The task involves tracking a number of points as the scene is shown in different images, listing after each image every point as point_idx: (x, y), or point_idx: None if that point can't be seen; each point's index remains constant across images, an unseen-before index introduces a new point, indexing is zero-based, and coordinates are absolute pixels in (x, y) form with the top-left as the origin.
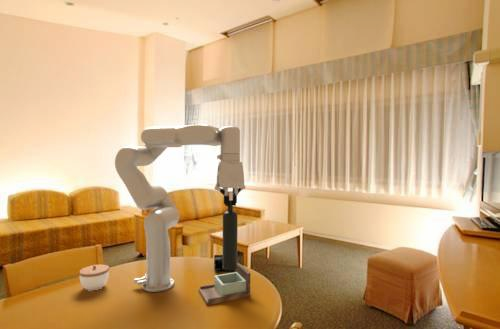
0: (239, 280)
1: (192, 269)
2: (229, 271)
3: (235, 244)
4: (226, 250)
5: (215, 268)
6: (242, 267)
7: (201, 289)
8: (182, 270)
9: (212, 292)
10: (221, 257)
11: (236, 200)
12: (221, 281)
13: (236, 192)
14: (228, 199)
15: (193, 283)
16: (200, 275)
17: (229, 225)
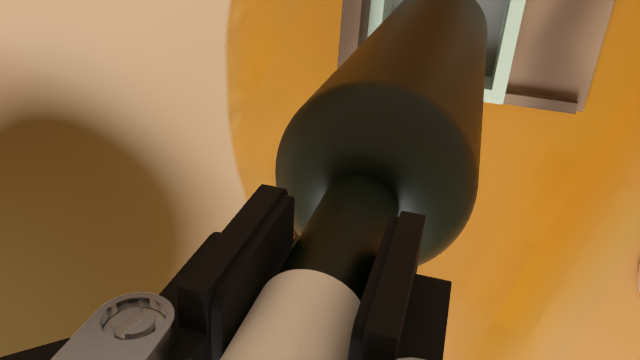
0: (386, 10)
1: (479, 339)
2: None
3: (396, 15)
4: (475, 32)
5: None
6: (348, 31)
7: (576, 93)
8: (528, 355)
9: (545, 29)
10: None
11: (202, 251)
12: (509, 5)
13: (112, 345)
14: (383, 277)
15: (555, 202)
16: (478, 262)
17: (438, 68)
